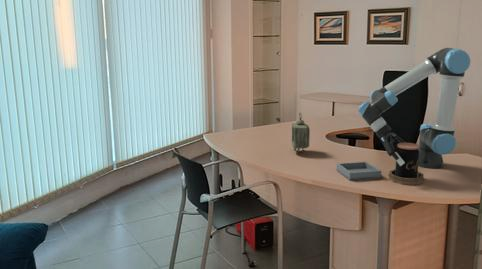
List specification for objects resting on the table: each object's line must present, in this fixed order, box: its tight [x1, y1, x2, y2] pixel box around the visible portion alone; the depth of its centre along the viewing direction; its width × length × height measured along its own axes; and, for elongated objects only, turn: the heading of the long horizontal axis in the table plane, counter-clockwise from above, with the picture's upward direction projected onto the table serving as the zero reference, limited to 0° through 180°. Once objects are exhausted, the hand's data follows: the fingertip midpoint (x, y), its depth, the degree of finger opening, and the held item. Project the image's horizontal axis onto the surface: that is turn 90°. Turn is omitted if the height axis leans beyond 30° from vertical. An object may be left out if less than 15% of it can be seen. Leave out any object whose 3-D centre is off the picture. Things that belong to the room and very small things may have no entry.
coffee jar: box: [394, 142, 420, 178], centre depth 241 cm, size 11×11×18 cm
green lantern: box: [291, 111, 311, 155], centre depth 292 cm, size 14×9×25 cm, turn 1°
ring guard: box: [388, 168, 424, 186], centre depth 243 cm, size 16×16×3 cm
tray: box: [336, 161, 382, 182], centre depth 251 cm, size 17×17×4 cm
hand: (407, 161), depth 240 cm, fingers open, 13 cm apart
